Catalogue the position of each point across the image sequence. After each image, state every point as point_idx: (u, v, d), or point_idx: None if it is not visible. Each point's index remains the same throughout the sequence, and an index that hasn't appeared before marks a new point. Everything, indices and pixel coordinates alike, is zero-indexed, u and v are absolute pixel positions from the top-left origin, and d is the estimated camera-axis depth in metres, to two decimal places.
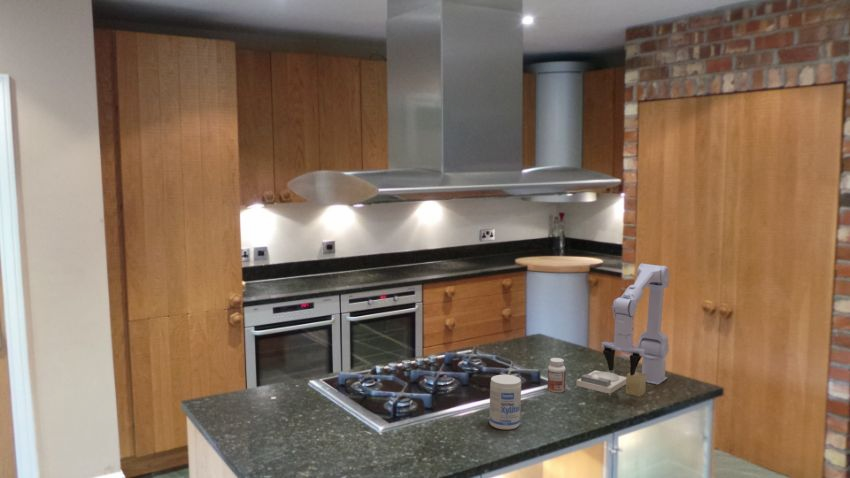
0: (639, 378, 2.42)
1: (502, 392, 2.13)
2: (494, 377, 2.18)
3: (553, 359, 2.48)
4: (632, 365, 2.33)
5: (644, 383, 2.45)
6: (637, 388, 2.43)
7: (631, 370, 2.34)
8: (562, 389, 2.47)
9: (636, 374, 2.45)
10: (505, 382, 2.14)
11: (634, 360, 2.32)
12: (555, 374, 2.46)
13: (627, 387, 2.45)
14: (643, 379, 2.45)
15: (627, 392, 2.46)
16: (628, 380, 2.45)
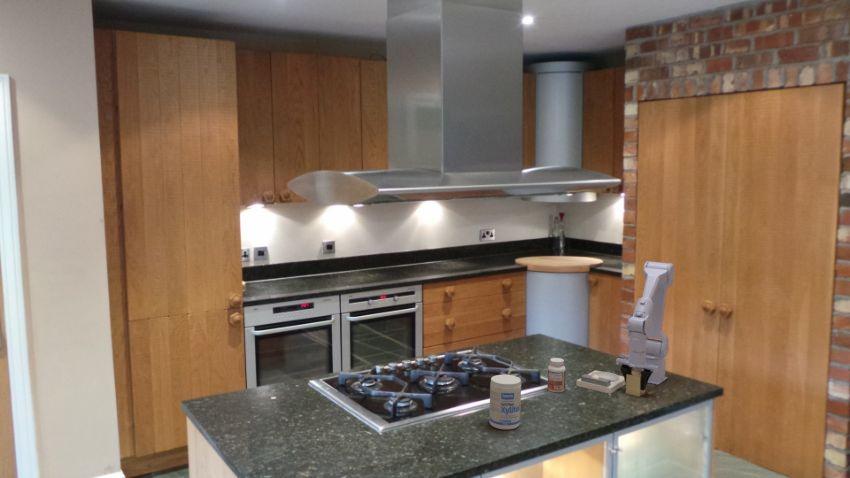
0: (639, 378, 2.42)
1: (502, 392, 2.13)
2: (494, 377, 2.18)
3: (553, 359, 2.48)
4: (643, 380, 2.42)
5: None
6: (637, 388, 2.43)
7: (642, 385, 2.43)
8: (562, 389, 2.47)
9: (636, 374, 2.45)
10: (505, 382, 2.14)
11: (645, 376, 2.41)
12: (555, 374, 2.46)
13: (627, 387, 2.45)
14: None
15: (627, 392, 2.46)
16: (628, 379, 2.45)
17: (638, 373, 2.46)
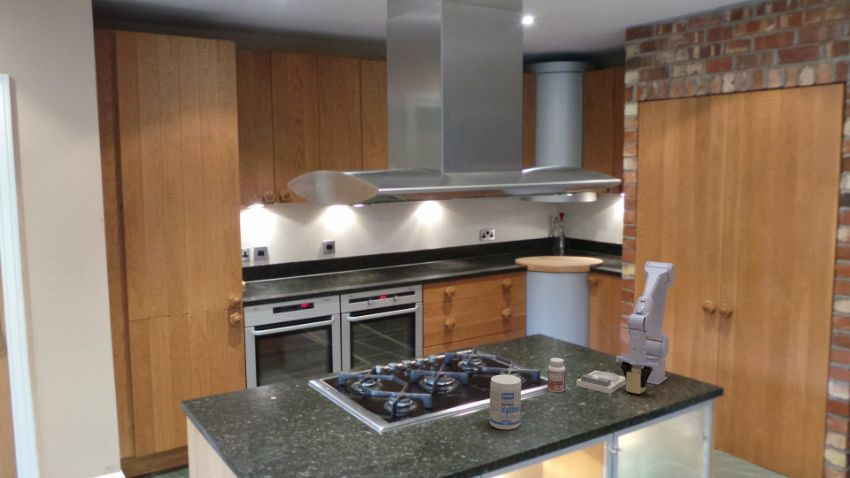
0: (639, 375, 2.42)
1: (502, 392, 2.13)
2: (494, 377, 2.18)
3: (553, 359, 2.48)
4: (643, 378, 2.42)
5: None
6: (637, 386, 2.43)
7: (642, 383, 2.43)
8: (562, 389, 2.47)
9: (636, 371, 2.45)
10: (505, 382, 2.14)
11: (645, 373, 2.41)
12: (555, 374, 2.46)
13: (627, 384, 2.45)
14: None
15: (627, 389, 2.46)
16: (628, 377, 2.45)
17: (638, 370, 2.46)
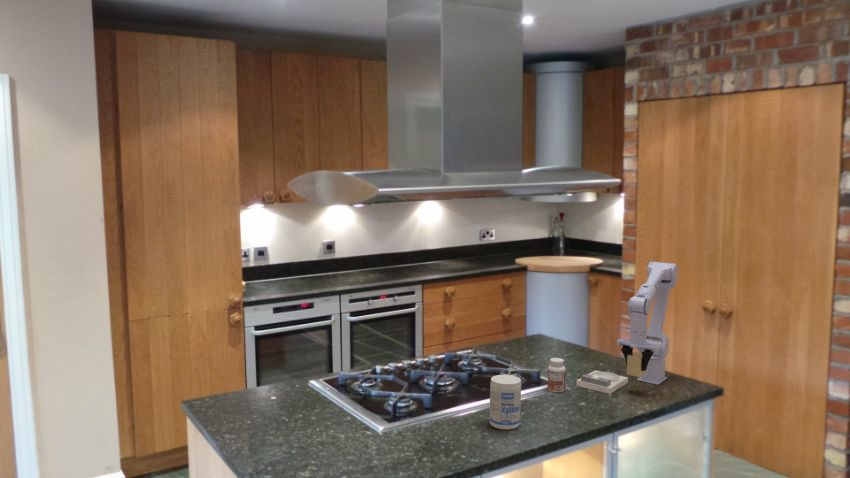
0: (640, 358, 2.41)
1: (502, 392, 2.13)
2: (494, 377, 2.18)
3: (553, 359, 2.48)
4: (644, 361, 2.41)
5: None
6: (638, 369, 2.42)
7: (643, 366, 2.42)
8: (562, 389, 2.47)
9: (637, 355, 2.44)
10: (505, 382, 2.14)
11: (646, 356, 2.40)
12: (555, 374, 2.46)
13: (628, 368, 2.45)
14: None
15: (628, 373, 2.45)
16: (629, 360, 2.44)
17: (639, 354, 2.45)
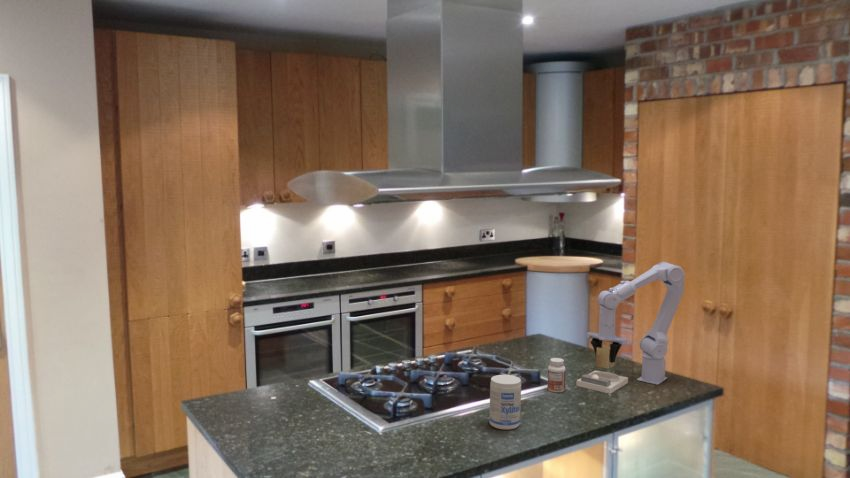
0: (608, 350, 2.52)
1: (502, 392, 2.13)
2: (494, 377, 2.18)
3: (553, 359, 2.48)
4: (612, 353, 2.52)
5: None
6: (607, 360, 2.53)
7: (611, 358, 2.53)
8: (562, 389, 2.47)
9: (606, 347, 2.55)
10: (505, 382, 2.14)
11: (614, 348, 2.51)
12: (555, 374, 2.46)
13: (597, 359, 2.55)
14: None
15: (597, 364, 2.55)
16: (598, 352, 2.55)
17: (608, 346, 2.56)
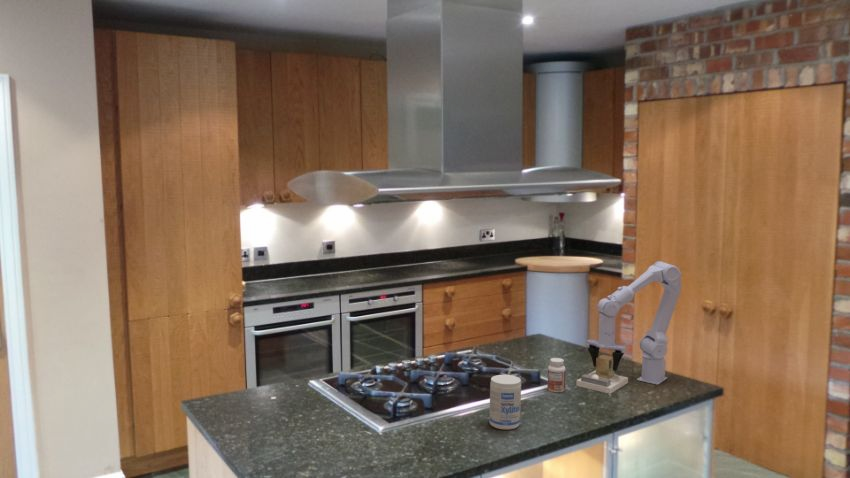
0: (608, 361, 2.53)
1: (502, 392, 2.13)
2: (494, 377, 2.18)
3: (553, 359, 2.48)
4: (615, 361, 2.52)
5: None
6: (606, 371, 2.53)
7: (614, 366, 2.52)
8: (562, 389, 2.47)
9: (605, 357, 2.55)
10: (505, 382, 2.14)
11: (616, 357, 2.50)
12: (555, 374, 2.46)
13: (597, 370, 2.56)
14: (612, 362, 2.55)
15: None
16: (597, 363, 2.55)
17: (607, 357, 2.56)
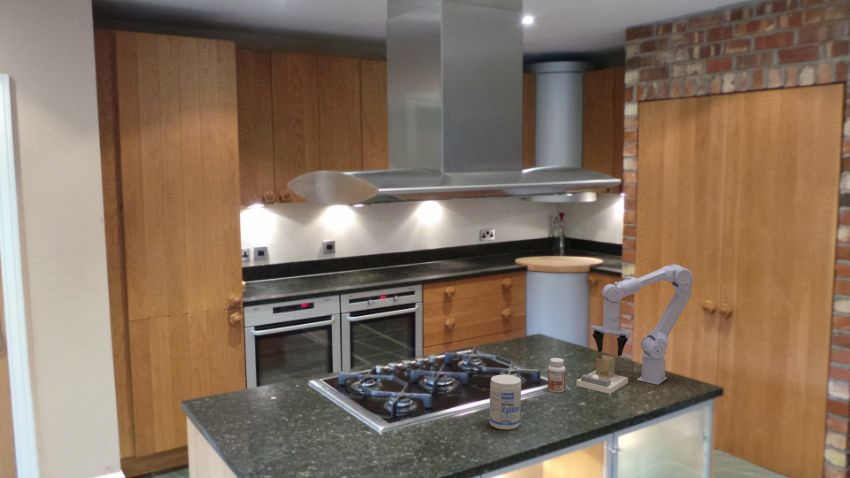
0: (608, 361, 2.53)
1: (502, 392, 2.13)
2: (494, 377, 2.18)
3: (553, 359, 2.48)
4: (619, 346, 2.54)
5: (613, 366, 2.56)
6: (606, 371, 2.53)
7: (618, 351, 2.54)
8: (562, 389, 2.47)
9: (605, 357, 2.55)
10: (505, 382, 2.14)
11: (621, 342, 2.52)
12: (555, 374, 2.46)
13: (597, 370, 2.56)
14: (612, 362, 2.55)
15: None
16: (597, 363, 2.55)
17: (607, 357, 2.56)
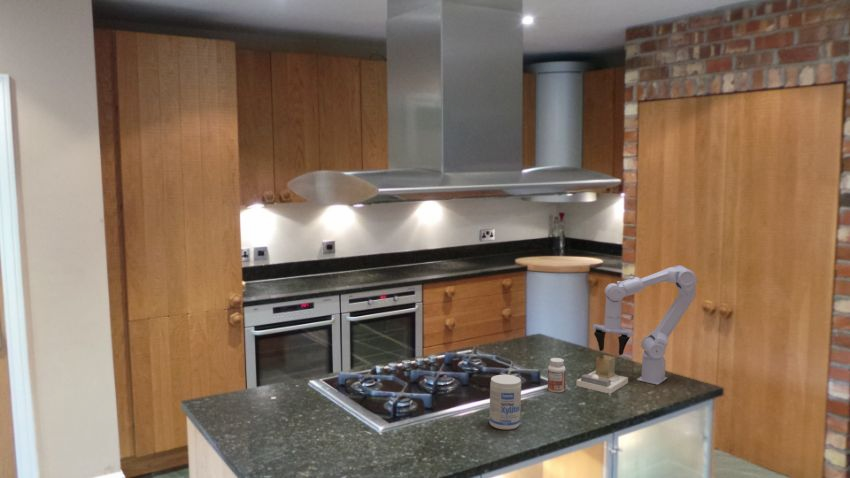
0: (608, 361, 2.53)
1: (502, 392, 2.13)
2: (494, 377, 2.18)
3: (553, 359, 2.48)
4: (620, 345, 2.55)
5: (613, 366, 2.56)
6: (606, 371, 2.53)
7: (620, 350, 2.56)
8: (562, 389, 2.47)
9: (605, 357, 2.55)
10: (505, 382, 2.14)
11: (622, 341, 2.54)
12: (555, 374, 2.46)
13: (597, 370, 2.56)
14: (612, 362, 2.55)
15: None
16: (597, 363, 2.55)
17: (607, 357, 2.56)
